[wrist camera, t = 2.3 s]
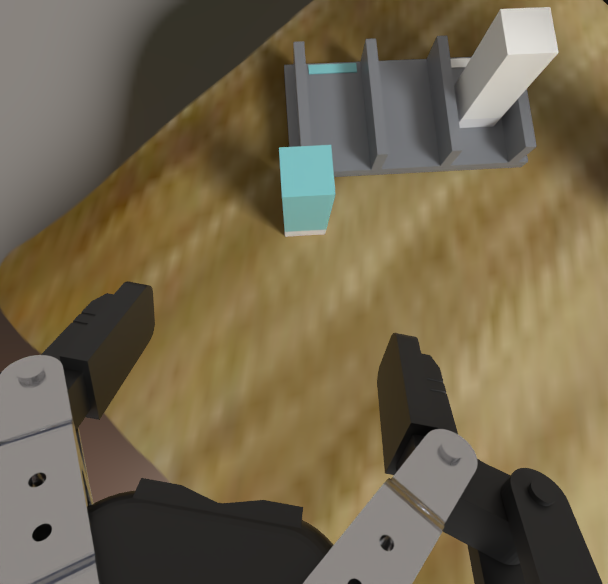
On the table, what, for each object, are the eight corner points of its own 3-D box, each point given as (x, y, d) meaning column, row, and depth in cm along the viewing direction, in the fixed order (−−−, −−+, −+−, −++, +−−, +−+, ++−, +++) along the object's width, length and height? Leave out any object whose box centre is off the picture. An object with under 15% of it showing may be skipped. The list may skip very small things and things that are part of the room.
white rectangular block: (488, 90, 41) (550, 7, 31) (493, 126, 40) (558, 52, 30) (450, 92, 41) (500, 9, 31) (455, 128, 40) (507, 54, 30)
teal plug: (321, 196, 40) (331, 144, 30) (324, 234, 39) (335, 194, 29) (282, 198, 40) (278, 147, 30) (285, 236, 39) (282, 197, 29)
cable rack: (504, 63, 43) (527, 32, 38) (521, 167, 41) (546, 146, 37) (284, 73, 42) (283, 42, 38) (291, 179, 40) (291, 159, 36)
